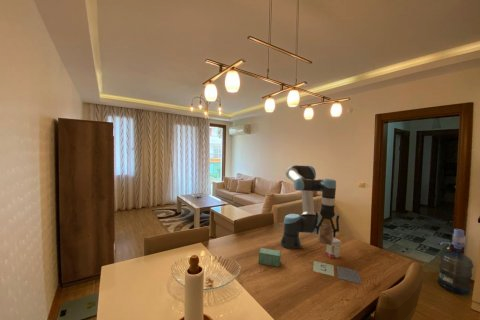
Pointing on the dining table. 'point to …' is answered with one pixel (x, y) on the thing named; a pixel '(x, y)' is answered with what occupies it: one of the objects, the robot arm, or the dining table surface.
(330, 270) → the tile
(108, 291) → the dining table surface
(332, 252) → the ink box
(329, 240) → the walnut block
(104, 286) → the dining table surface
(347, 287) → the dining table surface
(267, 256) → the box
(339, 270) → the mat
